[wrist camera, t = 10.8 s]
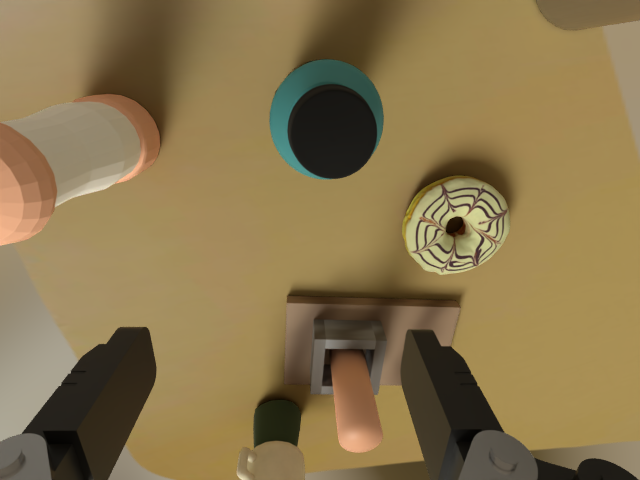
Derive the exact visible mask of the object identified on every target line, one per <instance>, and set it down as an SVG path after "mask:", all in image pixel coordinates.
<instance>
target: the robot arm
mask: <svg viewBox="0 0 640 480" xmlns="http://www.w3.org/2000/svg"><path fill="white" fill-rule="evenodd" d="M536 2H537V4H538V7H539V9H540V11H541V13H542V14H543V15H544V16H545V18H546V19H547V20H548V21H549V22H551V23H552V24H554V25H555V26H557V27H560V28H562V29H565V30H581V29H587V28H593V27H600V26H606V25H613V24H619V23H626V22H632V21H638V20H640V0H536ZM400 376H401V384H402V388H403V391H404V395H405V398H406V401H407V405H408V408H409V411H410V414H411V418H412V421H413V424H414V428H415V431H416V434H417V437H418V441H419V444H420V447H421V450H422V454H423V457H424V460H425V464H426V467H427V470H428V473H429V477H430V480H638V479H637V478H636V477H634V476H633V475H632V474H631V473H629V472H628V471H626V470H625V469H623V468H621V467H620V466H617V465H616V464H614V463H611V462H608V461H606V460H601V459H595V458H594V459H586V460H584V461H582V462H581V463H580V465H579V467H578V469H577V471H575V470H572V469H568V468H565V467H561V466H558V465H555V464H551V463H548V462H544V461H541V460H538V459H536V458H534V457H533V455H532V454H531V453H530V451H529V450H528V449H527V448H526V447H525V446H524V445H523V444H522V443H521V442H520V441H518V440H517V439H515V438H514V437H512V436H510V435H508V434H506V433H504V431H503V429H502V427H501V426H500V424H499V422H498V420H497V418H496V417H495V415H494V413H493V411H492V409H491V407H490V406H489V404H488V402H487V400H486V398H485V397H484V395H483V393H482V391H481V389H480V387H479V386H477V382H476V380H475V378H474V377H473V375H471V371H470V369H469V367H468V366H467V364H466V362H465V360H464V358H463V357H462V356H460V355H459V354H458V353H457V352H456V351H455V350H454V349H453V348H452V347H451V346H441V345H440V343H439V341H438V339H437V337H436V335H435V333H434V331H433V330H431V329H408V330H407V332H406V337H405V343H404V349H403V355H402V361H401V368H400ZM155 378H156V362H155V357H154V352H153V347H152V342H151V337H150V332H149V330H148V328H147V327H120V328H118V329H117V330H116V331H115V333H114V334H113V335H112V337H111V338H110V340H109V341H108V342H107V344H99V345H97V346H96V347H95V348H93V349H92V350H91V351H89V352H88V353H86V354H85V355H84V356H82V358H81V359H80V360H79V361H78V363H77V364H76V365H75V367H74V368H73V369H72V370H71V374H68V375H67V377H66V378H65V379H64V380H63V382H62V384H61V386H59V387H58V388H57V389H56V391H55V392H54V393H53V395H52V396H51V397H50V398H49V400H48V401H47V402H46V403H45V405H44V406H43V407H42V409H41V410H40V411H39V412H38V414H37V415H36V416H35V417H34V419H33V420H32V421H31V422H30V424H29V425H28V426H27V427H26V429H25V430H24V431H23V433H22V434H20V435H16V436H12V437H10V438H7V439H5V440H3V441H1V442H0V480H108V478H109V476H110V474H111V472H112V470H113V468H114V466H115V464H116V462H117V460H118V458H119V456H120V454H121V451H122V449H123V447H124V445H125V443H126V441H127V439H128V437H129V435H130V433H131V431H132V429H133V427H134V425H135V423H136V421H137V419H138V417H139V414H140V412H141V410H142V408H143V406H144V404H145V402H146V400H147V398H148V396H149V394H150V392H151V390H152V388H153V385H154V382H155Z"/></svg>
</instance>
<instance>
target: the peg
mask: <svg viewBox="0 0 640 480" xmlns="http://www.w3.org/2000/svg"><path fill="white" fill-rule="evenodd" d="M329 355H330V364H331V373H332V383H333V392H334V402H335V411H336V421H337V430H338V440H339V443H340V445H341V446H342V447H343V448H344V449H346V450H348V451H351V452H366V451H369V450H372V449H374V448H375V447H377V446H378V445H379V444H380V442H381V441H382V438H383V433H382V428H381V424H380V420H379V415H378V411H377V407H376V402H375V398H374V394H373V389H372V385H371V381H370V376H369V372H368V368H367V363H366V359H365V355H364V350H363V349H329Z"/></svg>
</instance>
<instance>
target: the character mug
mask: <svg viewBox="0 0 640 480" xmlns="http://www.w3.org/2000/svg"><path fill="white" fill-rule="evenodd" d="M300 423H301V414H300V410H299V408H298V407H297V406H296V405H295V404H294V403H293V402H290V401H286V400H273V401H269V402H267V403H264V404H262V405H260V406H259V407H258V408H256V410H255V414H254V428H253V431H254V449H253V450H250V449H249V448H246V447H242V449H241V451H240V453H239V459H238V466H237V476H238V477H239V478H240V479H241V480H305V465H304V458H303V453H302V452H301V451H300V449H299V448H298V447H297V444H298V437H299V431H300Z"/></svg>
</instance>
